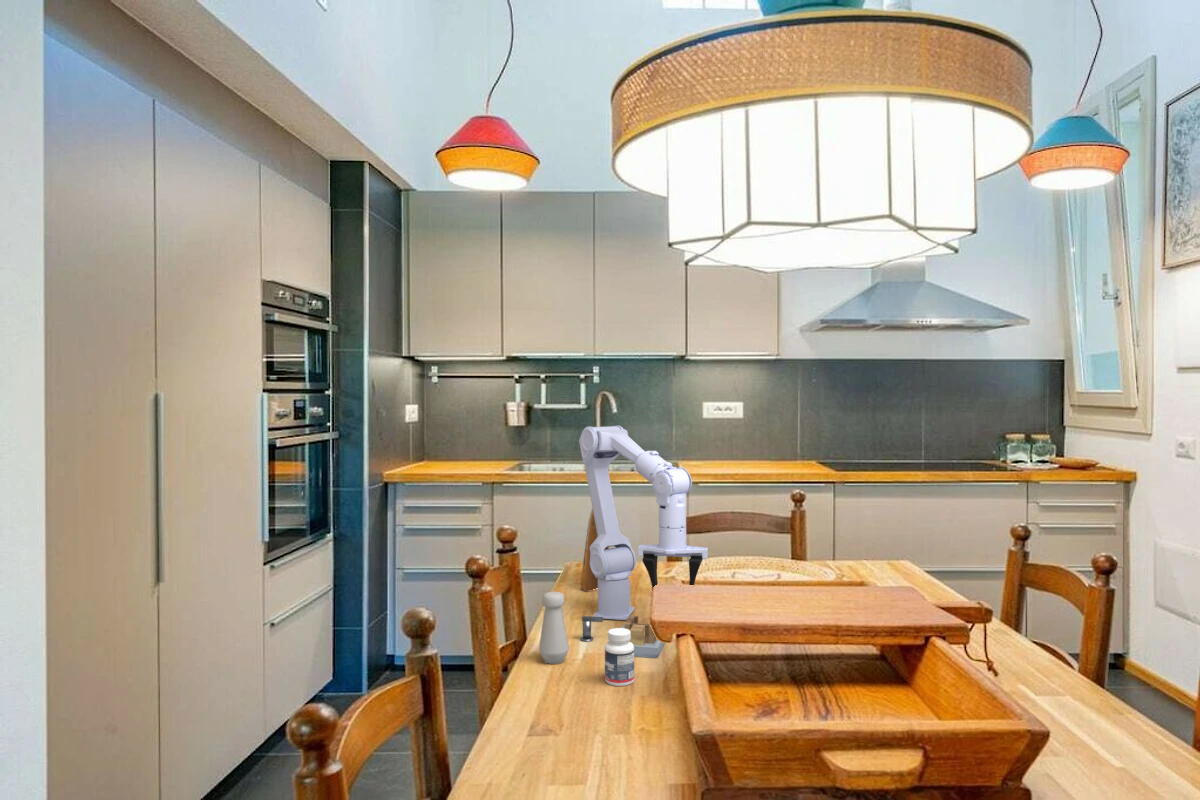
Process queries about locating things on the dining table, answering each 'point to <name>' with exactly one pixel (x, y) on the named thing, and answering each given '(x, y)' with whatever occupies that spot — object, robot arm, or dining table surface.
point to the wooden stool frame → (639, 632)
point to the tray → (648, 649)
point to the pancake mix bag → (587, 575)
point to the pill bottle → (619, 658)
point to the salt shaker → (553, 630)
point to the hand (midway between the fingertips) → (673, 590)
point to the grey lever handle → (589, 627)
